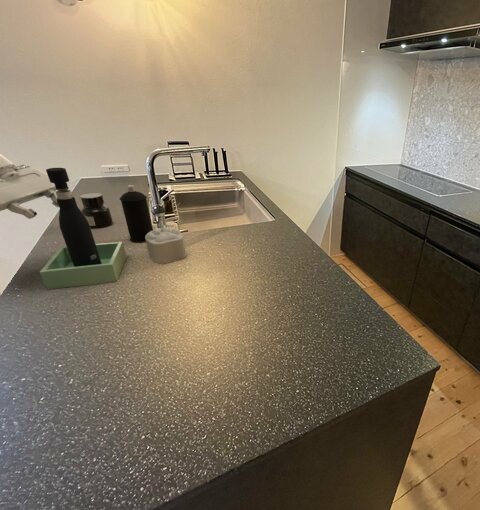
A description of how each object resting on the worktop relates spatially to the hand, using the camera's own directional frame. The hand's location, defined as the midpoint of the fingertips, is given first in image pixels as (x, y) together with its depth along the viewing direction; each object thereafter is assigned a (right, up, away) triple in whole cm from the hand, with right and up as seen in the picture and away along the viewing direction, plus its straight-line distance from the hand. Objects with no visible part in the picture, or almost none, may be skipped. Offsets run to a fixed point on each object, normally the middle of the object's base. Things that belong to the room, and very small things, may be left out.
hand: (48, 210), depth 83 cm
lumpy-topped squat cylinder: (+19, -12, +23) cm, 32 cm away
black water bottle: (+3, -17, +10) cm, 20 cm away
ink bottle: (-18, 0, +41) cm, 44 cm away
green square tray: (+4, -17, +10) cm, 20 cm away
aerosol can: (+5, -6, +33) cm, 33 cm away
